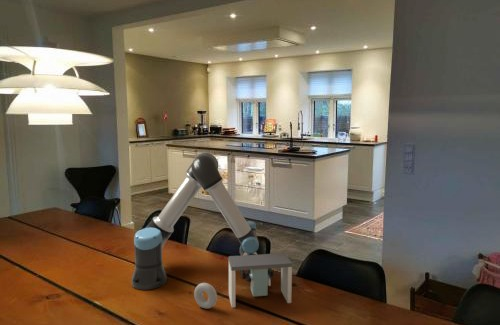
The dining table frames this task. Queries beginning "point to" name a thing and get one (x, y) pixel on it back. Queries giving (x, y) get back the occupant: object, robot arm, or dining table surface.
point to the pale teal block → (260, 282)
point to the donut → (210, 292)
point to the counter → (283, 284)
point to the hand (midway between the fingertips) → (261, 283)
